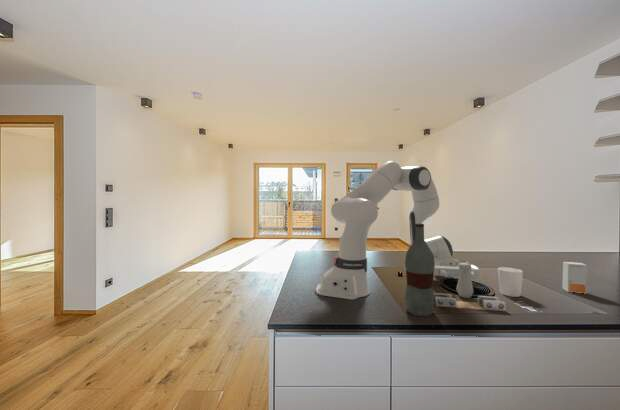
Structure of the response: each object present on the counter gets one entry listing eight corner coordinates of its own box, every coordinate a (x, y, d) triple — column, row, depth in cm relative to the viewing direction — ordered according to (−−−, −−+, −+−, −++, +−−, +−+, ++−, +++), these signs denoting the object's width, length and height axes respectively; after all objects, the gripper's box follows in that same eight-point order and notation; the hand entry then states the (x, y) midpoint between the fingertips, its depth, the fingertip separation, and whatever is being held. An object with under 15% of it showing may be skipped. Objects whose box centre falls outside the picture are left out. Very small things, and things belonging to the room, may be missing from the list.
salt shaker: (475, 299, 98) (476, 265, 97) (459, 298, 99) (459, 265, 99) (469, 294, 103) (469, 262, 103) (454, 293, 105) (454, 261, 104)
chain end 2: (484, 309, 88) (484, 301, 88) (477, 303, 94) (477, 295, 94) (505, 311, 87) (505, 302, 87) (497, 304, 92) (497, 296, 92)
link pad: (457, 308, 90) (457, 307, 90) (451, 301, 96) (451, 300, 96) (484, 310, 88) (484, 309, 88) (476, 303, 94) (476, 302, 94)
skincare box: (567, 292, 105) (568, 263, 105) (562, 289, 109) (562, 261, 109) (587, 294, 103) (587, 265, 103) (580, 291, 107) (581, 262, 107)
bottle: (434, 308, 90) (434, 223, 89) (435, 319, 81) (435, 225, 81) (405, 303, 93) (406, 222, 93) (403, 313, 85) (404, 224, 85)
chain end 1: (436, 306, 91) (436, 298, 91) (432, 300, 97) (432, 292, 96) (456, 307, 90) (456, 299, 90) (450, 301, 95) (450, 293, 95)
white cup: (516, 299, 98) (516, 273, 98) (493, 292, 105) (494, 268, 105) (526, 295, 102) (526, 270, 102) (504, 289, 109) (504, 266, 109)
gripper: (424, 259, 121) (433, 266, 107) (472, 261, 117) (487, 269, 103) (424, 272, 121) (433, 281, 107) (472, 275, 117) (487, 284, 103)
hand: (460, 275), depth 105 cm, fingers open, 8 cm apart
